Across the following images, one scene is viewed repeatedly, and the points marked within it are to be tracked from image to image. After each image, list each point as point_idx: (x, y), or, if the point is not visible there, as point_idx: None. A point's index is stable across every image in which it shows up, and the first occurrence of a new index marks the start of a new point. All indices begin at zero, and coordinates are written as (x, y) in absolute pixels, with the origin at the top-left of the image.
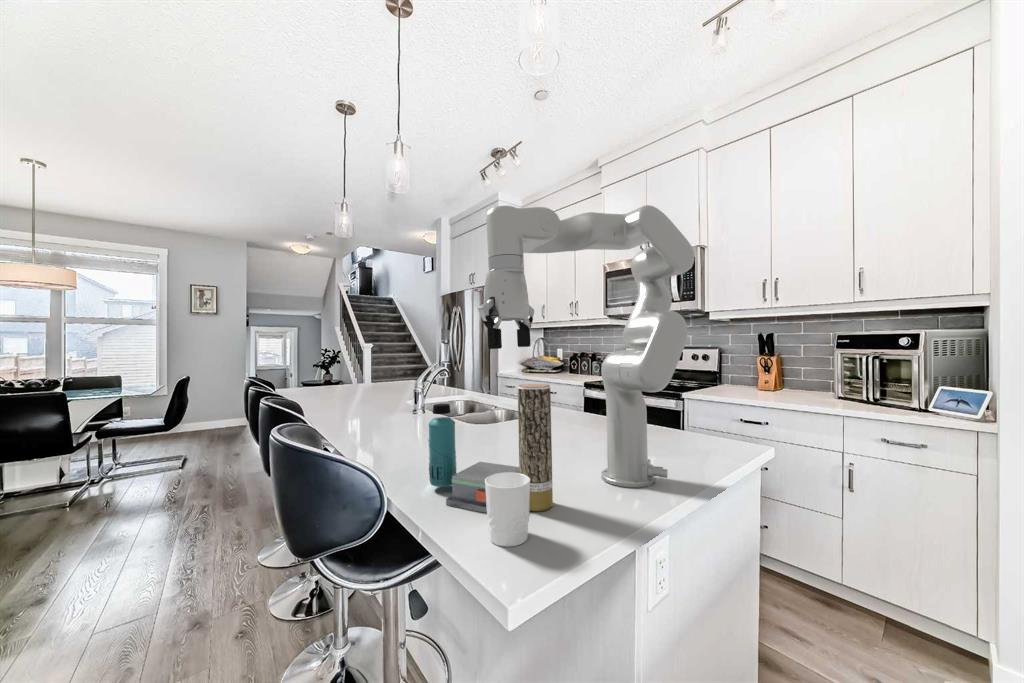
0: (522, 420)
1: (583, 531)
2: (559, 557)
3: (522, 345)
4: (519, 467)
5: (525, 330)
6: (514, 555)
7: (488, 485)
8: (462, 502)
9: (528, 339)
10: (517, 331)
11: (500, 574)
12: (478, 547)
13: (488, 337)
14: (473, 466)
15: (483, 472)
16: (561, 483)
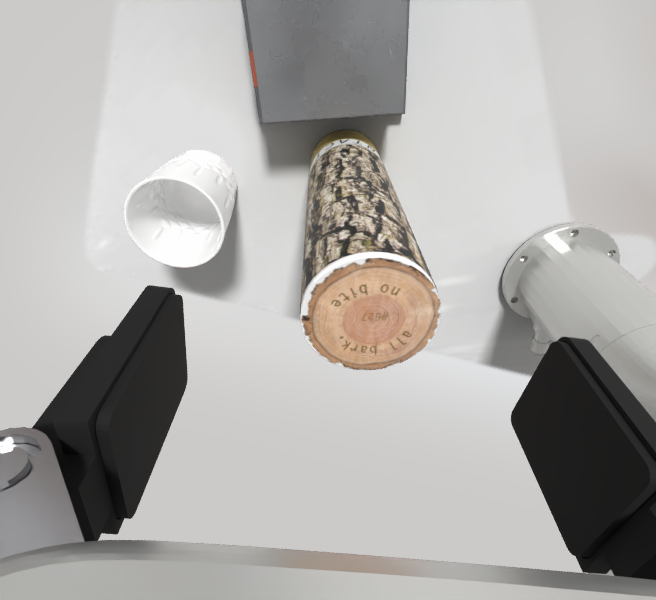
0: (307, 235)
1: (291, 273)
2: (204, 272)
3: (536, 382)
4: (323, 161)
5: (578, 534)
6: None
7: (124, 206)
8: (242, 2)
9: (535, 464)
10: (635, 463)
11: (117, 227)
12: (143, 156)
13: (73, 375)
14: None
15: (314, 26)
16: (494, 155)
